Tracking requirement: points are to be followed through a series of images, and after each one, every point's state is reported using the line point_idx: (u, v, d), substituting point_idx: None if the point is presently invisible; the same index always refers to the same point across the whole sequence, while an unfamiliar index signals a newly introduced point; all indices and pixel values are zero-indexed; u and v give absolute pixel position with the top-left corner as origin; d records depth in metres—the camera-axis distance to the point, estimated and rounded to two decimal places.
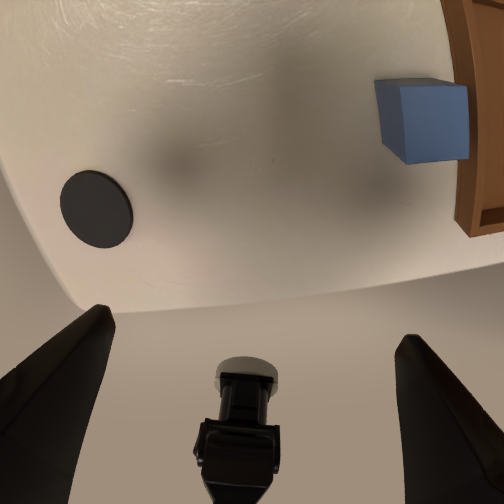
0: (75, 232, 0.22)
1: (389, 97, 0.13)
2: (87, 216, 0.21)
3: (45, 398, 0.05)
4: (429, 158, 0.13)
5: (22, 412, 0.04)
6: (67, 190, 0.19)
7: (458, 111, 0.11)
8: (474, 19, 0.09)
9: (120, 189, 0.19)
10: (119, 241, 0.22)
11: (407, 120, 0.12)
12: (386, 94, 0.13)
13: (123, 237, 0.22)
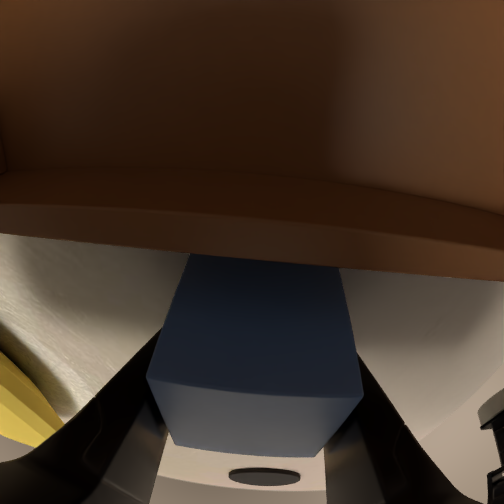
0: (273, 485, 0.23)
1: None
2: (265, 481, 0.22)
3: (138, 429, 0.05)
4: (318, 443, 0.06)
5: (117, 450, 0.04)
6: (237, 480, 0.23)
7: (219, 406, 0.05)
8: None
9: (255, 470, 0.20)
10: (298, 478, 0.21)
11: (234, 452, 0.07)
12: None
13: (296, 477, 0.21)
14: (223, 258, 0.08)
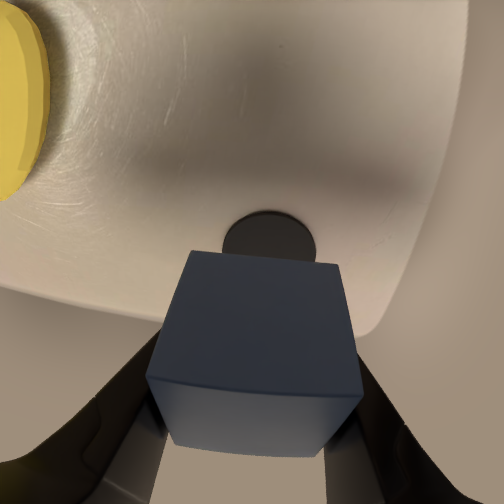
0: None
1: None
2: None
3: (138, 428, 0.05)
4: (318, 443, 0.06)
5: (117, 450, 0.04)
6: None
7: (219, 406, 0.05)
8: None
9: (257, 214, 0.19)
10: (312, 246, 0.20)
11: (234, 452, 0.07)
12: None
13: (310, 239, 0.20)
14: (223, 258, 0.08)
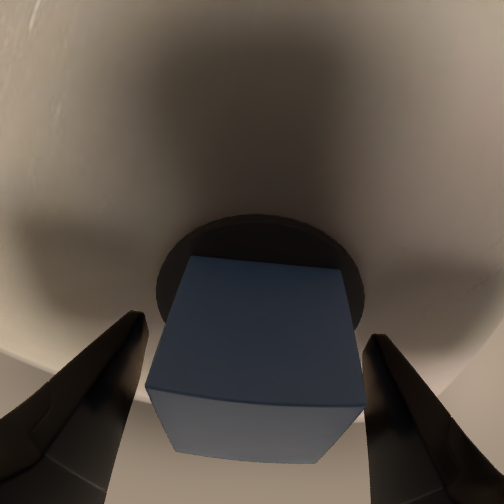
0: None
1: None
2: None
3: (85, 413, 0.05)
4: (320, 450, 0.06)
5: (62, 430, 0.04)
6: None
7: (221, 415, 0.05)
8: None
9: (228, 220, 0.08)
10: (359, 296, 0.09)
11: (234, 458, 0.07)
12: None
13: (355, 281, 0.08)
14: (223, 263, 0.08)
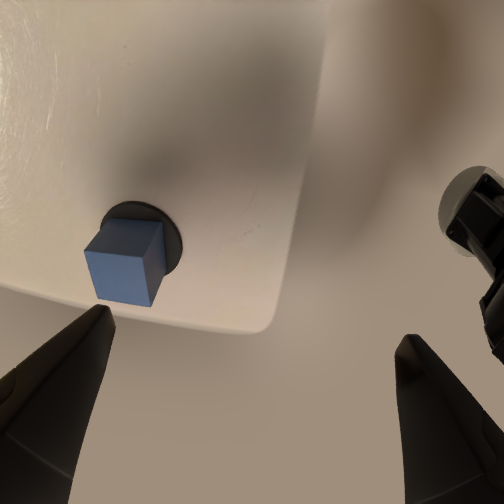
0: None
1: None
2: None
3: (45, 398, 0.05)
4: (144, 291, 0.18)
5: (22, 412, 0.04)
6: None
7: (104, 262, 0.17)
8: None
9: (121, 204, 0.19)
10: (175, 234, 0.20)
11: (118, 300, 0.19)
12: None
13: (170, 227, 0.20)
14: (120, 220, 0.20)
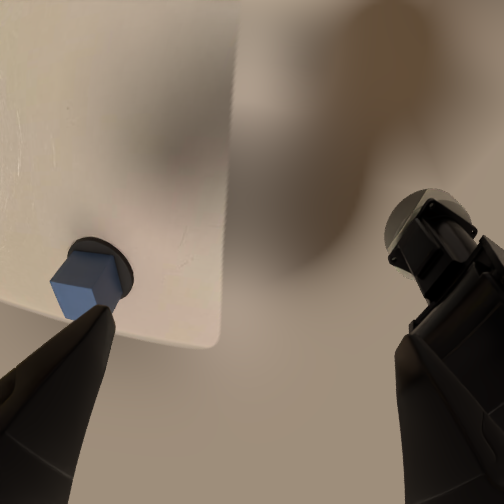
0: None
1: None
2: None
3: (45, 398, 0.05)
4: None
5: (22, 412, 0.04)
6: None
7: (65, 291, 0.19)
8: None
9: (80, 239, 0.22)
10: (125, 265, 0.23)
11: None
12: None
13: (120, 259, 0.22)
14: (80, 253, 0.22)
